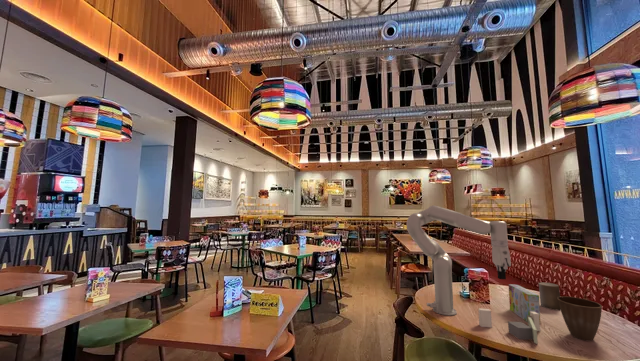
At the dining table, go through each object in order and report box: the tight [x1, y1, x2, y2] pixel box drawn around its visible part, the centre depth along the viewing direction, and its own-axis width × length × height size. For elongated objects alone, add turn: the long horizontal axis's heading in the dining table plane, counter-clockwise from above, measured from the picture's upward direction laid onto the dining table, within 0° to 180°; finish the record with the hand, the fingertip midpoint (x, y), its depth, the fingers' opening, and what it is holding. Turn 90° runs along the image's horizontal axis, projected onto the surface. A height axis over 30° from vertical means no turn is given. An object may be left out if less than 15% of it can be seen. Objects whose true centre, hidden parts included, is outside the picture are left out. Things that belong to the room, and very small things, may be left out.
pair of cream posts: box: [477, 308, 541, 332], centre depth 131 cm, size 27×3×8 cm, turn 82°
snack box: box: [507, 283, 541, 326], centre depth 145 cm, size 21×6×15 cm, turn 168°
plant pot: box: [558, 296, 603, 342], centre depth 122 cm, size 15×15×16 cm
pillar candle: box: [538, 281, 561, 311], centre depth 161 cm, size 10×10×15 cm
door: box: [527, 315, 539, 344], centre depth 122 cm, size 18×2×6 cm, turn 148°
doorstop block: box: [507, 321, 533, 341], centre depth 122 cm, size 6×7×5 cm
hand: (501, 278), depth 140 cm, fingers closed
